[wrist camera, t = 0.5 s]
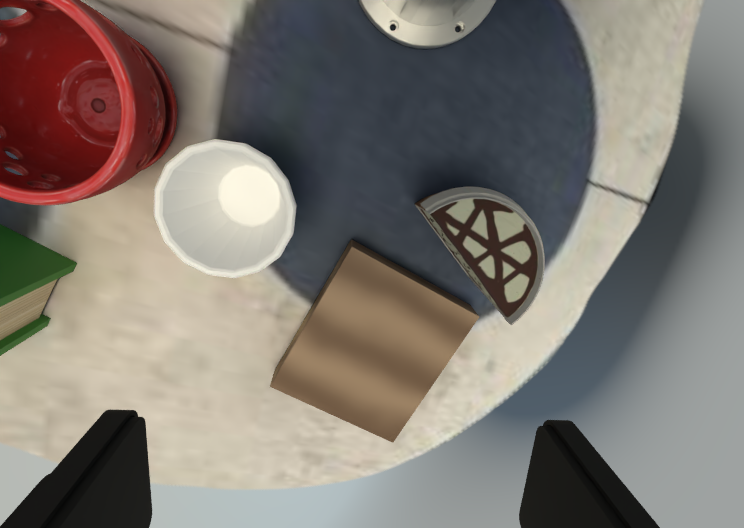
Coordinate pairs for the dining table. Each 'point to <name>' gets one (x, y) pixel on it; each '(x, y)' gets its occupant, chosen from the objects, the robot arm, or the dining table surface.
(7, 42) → the plant pot
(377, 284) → the walnut base
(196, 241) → the cup
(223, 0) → the dining table surface
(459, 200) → the food container
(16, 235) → the hardback book
